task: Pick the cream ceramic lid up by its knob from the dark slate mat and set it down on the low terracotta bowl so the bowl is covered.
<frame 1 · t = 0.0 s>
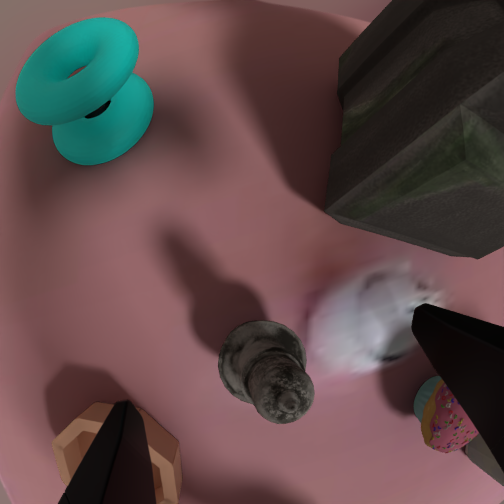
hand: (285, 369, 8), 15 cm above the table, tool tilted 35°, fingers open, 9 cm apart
donuts: (106, 123, 24), on the table
bowl: (124, 454, 20), on the table
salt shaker: (256, 353, 23), on the table
cupcake: (431, 397, 24), on the table
bottle: (398, 164, 27), on the table
disposable coffee cup: (480, 432, 23), on the table
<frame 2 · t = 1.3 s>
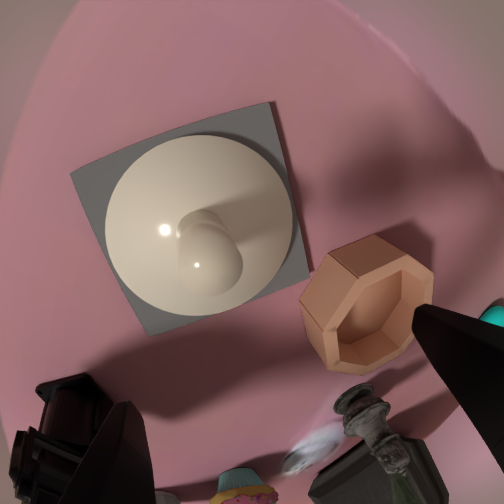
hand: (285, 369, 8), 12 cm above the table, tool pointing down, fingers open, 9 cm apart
donuts: (479, 330, 35), on the table
bowl: (357, 296, 24), on the table
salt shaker: (352, 398, 30), on the table
cupcake: (235, 474, 32), on the table
bottle: (363, 455, 40), on the table
disposable coffee cup: (157, 495, 31), on the table
lid: (199, 229, 18), point 1 cm above the table, touching mat
mat: (198, 226, 18), on the table
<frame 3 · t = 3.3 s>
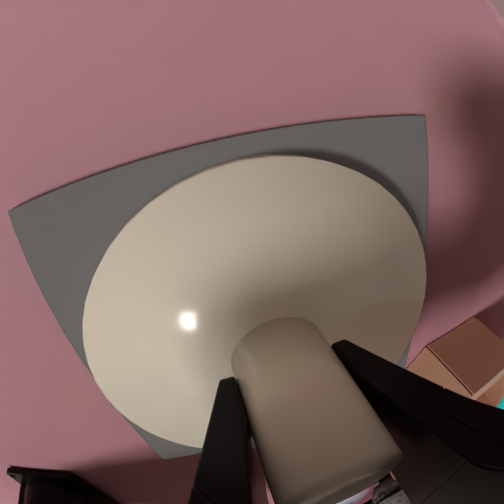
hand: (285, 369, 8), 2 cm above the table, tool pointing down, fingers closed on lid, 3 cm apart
bowl: (433, 385, 16), on the table
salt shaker: (384, 469, 22), on the table
lid: (270, 338, 9), point 1 cm above the table, touching gripper, mat
mat: (265, 327, 10), on the table
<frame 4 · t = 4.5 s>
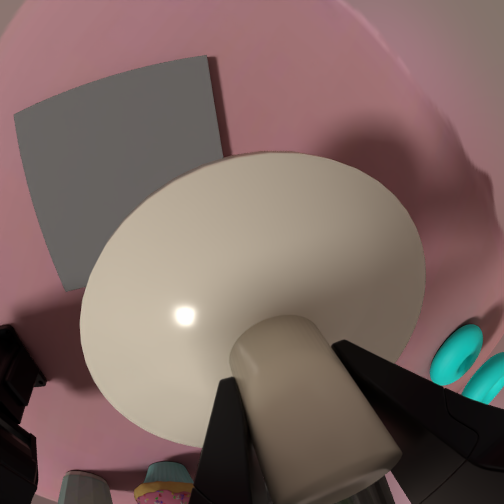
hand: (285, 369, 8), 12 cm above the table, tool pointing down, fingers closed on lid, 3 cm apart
donuts: (450, 349, 34), on the table
cupcake: (166, 467, 29), on the table
bottle: (311, 469, 38), on the table
disposable coffee cup: (88, 478, 28), on the table
lid: (269, 337, 9), point 11 cm above the table, touching gripper
mat: (121, 177, 16), on the table
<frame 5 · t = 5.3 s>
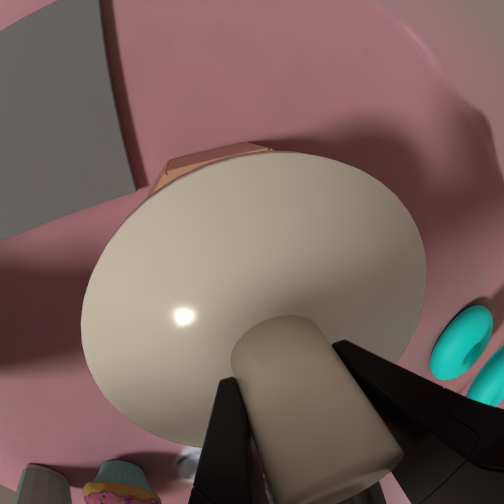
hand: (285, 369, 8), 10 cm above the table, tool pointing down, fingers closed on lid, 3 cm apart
donuts: (454, 336, 29), on the table
bowl: (227, 238, 17), on the table
cupcake: (121, 467, 25), on the table
bottle: (294, 475, 33), on the table
disposable coffee cup: (49, 474, 24), on the table
lid: (270, 337, 9), point 9 cm above the table, touching gripper
mat: (15, 122, 11), on the table
when the fingers open (7 cm above the table, at t = 6.0 s): lid drops 1 cm, resting on bowl.
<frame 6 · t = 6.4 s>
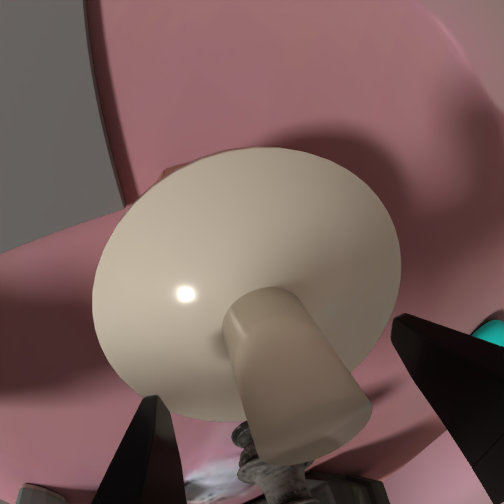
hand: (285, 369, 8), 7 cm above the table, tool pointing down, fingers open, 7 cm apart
donuts: (470, 351, 26), on the table
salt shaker: (263, 429, 21), on the table
bottle: (301, 492, 31), on the table
disposable coffee cup: (47, 493, 21), on the table
lid: (258, 310, 10), point 4 cm above the table, touching bowl
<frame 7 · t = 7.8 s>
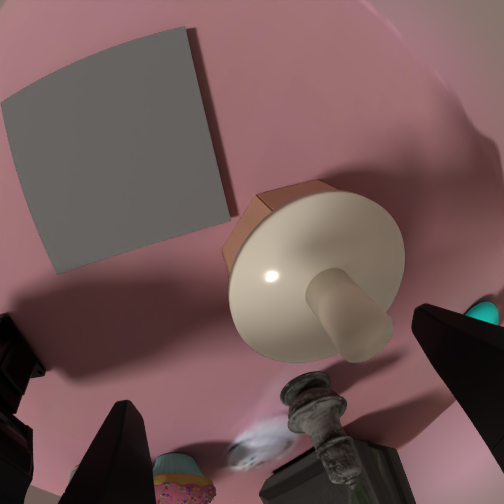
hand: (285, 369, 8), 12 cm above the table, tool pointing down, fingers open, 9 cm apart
donuts: (465, 328, 32), on the table
bowl: (299, 256, 21), on the table
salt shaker: (304, 388, 28), on the table
cupcake: (174, 460, 29), on the table
bottle: (326, 458, 38), on the table
lid: (322, 283, 17), point 4 cm above the table, touching bowl
mat: (106, 153, 15), on the table
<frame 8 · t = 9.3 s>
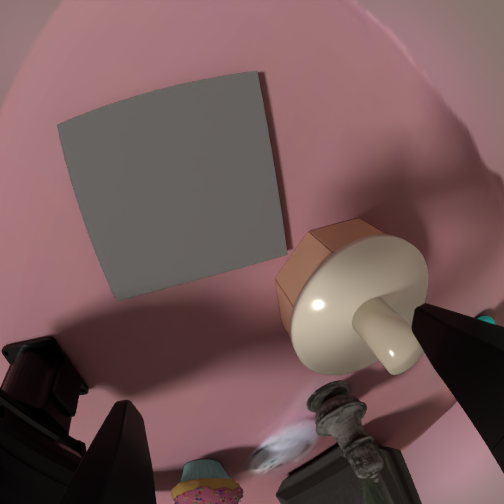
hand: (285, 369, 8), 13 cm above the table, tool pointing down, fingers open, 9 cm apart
bowl: (337, 282, 23), on the table
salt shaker: (328, 395, 30), on the table
cupcake: (201, 465, 31), on the table
bottle: (336, 460, 40), on the table
lid: (363, 309, 20), point 4 cm above the table, touching bowl
mat: (175, 188, 17), on the table
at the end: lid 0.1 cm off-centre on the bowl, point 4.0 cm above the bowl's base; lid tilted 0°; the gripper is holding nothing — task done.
